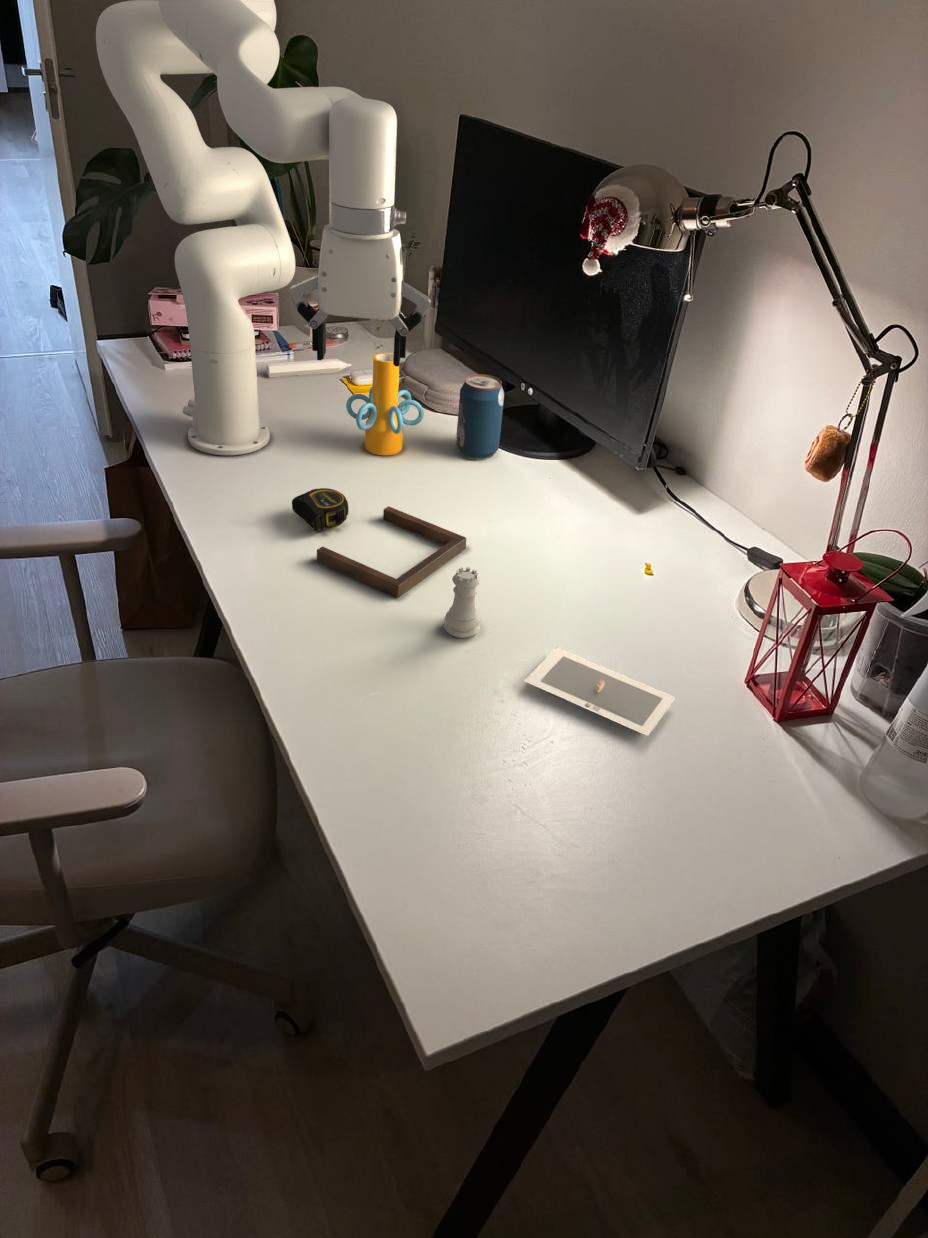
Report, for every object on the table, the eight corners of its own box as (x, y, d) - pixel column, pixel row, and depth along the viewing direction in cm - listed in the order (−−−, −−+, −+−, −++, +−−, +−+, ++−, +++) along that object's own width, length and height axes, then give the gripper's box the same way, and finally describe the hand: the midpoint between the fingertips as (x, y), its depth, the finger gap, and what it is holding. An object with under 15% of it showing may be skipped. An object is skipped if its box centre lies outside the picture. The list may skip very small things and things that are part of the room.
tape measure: (290, 516, 135) (289, 492, 133) (333, 505, 138) (333, 482, 136) (312, 538, 131) (311, 514, 128) (357, 527, 134) (357, 503, 132)
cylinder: (425, 438, 159) (430, 349, 150) (416, 466, 150) (421, 374, 142) (352, 430, 159) (353, 341, 151) (339, 457, 151) (339, 364, 142)
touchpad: (555, 654, 114) (557, 639, 112) (674, 705, 108) (677, 690, 106) (522, 688, 108) (524, 673, 107) (646, 743, 102) (649, 728, 101)
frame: (316, 561, 126) (316, 549, 125) (388, 517, 137) (388, 506, 136) (397, 598, 121) (398, 586, 120) (465, 548, 131) (466, 537, 130)
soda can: (506, 451, 157) (513, 380, 150) (483, 465, 152) (490, 393, 145) (470, 438, 160) (476, 368, 153) (447, 452, 155) (452, 381, 148)
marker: (353, 373, 181) (268, 379, 175) (350, 364, 182) (266, 370, 176) (355, 364, 179) (270, 370, 173) (352, 355, 180) (267, 360, 174)
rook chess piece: (485, 623, 118) (491, 568, 113) (473, 643, 114) (479, 587, 109) (450, 614, 119) (455, 559, 114) (437, 634, 115) (442, 577, 110)
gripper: (436, 217, 117) (428, 354, 127) (292, 204, 116) (295, 343, 126) (433, 233, 111) (425, 376, 120) (282, 220, 110) (286, 365, 120)
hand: (359, 359), depth 123 cm, fingers open, 9 cm apart
